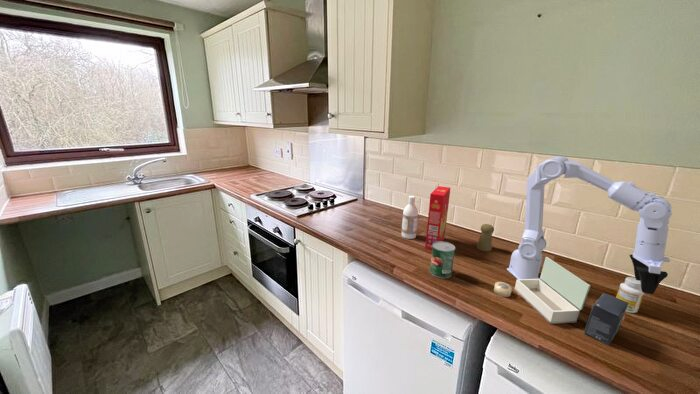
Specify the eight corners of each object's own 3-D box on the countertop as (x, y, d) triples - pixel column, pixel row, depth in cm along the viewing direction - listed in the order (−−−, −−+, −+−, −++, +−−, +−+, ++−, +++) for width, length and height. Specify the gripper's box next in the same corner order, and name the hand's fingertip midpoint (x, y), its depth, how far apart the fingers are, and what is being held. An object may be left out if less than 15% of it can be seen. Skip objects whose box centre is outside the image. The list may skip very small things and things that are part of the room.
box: (609, 346, 73) (620, 316, 70) (583, 333, 77) (592, 304, 74) (619, 331, 78) (629, 302, 75) (594, 319, 83) (602, 291, 80)
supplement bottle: (625, 301, 90) (634, 275, 88) (642, 313, 85) (653, 285, 82) (609, 302, 90) (617, 275, 87) (625, 313, 85) (635, 285, 82)
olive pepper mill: (473, 246, 126) (477, 223, 123) (482, 244, 129) (486, 221, 126) (485, 252, 121) (489, 228, 118) (494, 249, 124) (498, 226, 120)
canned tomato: (425, 271, 106) (428, 245, 103) (437, 264, 111) (440, 239, 108) (444, 281, 100) (447, 253, 97) (456, 273, 105) (459, 246, 102)
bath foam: (398, 234, 137) (401, 195, 131) (410, 232, 140) (413, 193, 134) (407, 240, 131) (410, 199, 125) (419, 237, 134) (422, 197, 128)
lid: (545, 256, 93) (547, 256, 93) (539, 278, 95) (541, 278, 95) (588, 285, 78) (590, 285, 78) (580, 310, 80) (582, 310, 80)
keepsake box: (514, 289, 96) (516, 279, 95) (536, 288, 96) (539, 278, 95) (550, 323, 81) (553, 311, 79) (576, 322, 81) (579, 310, 80)
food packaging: (437, 251, 122) (443, 195, 114) (425, 248, 124) (430, 193, 117) (444, 238, 134) (450, 187, 127) (433, 236, 136) (438, 186, 129)
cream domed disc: (490, 288, 97) (491, 281, 96) (504, 287, 97) (505, 281, 96) (499, 297, 92) (500, 290, 91) (513, 296, 92) (515, 290, 92)
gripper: (681, 253, 69) (673, 303, 72) (663, 234, 81) (656, 278, 84) (641, 248, 74) (634, 295, 76) (629, 231, 85) (624, 273, 88)
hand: (643, 286), depth 80 cm, fingers open, 7 cm apart
